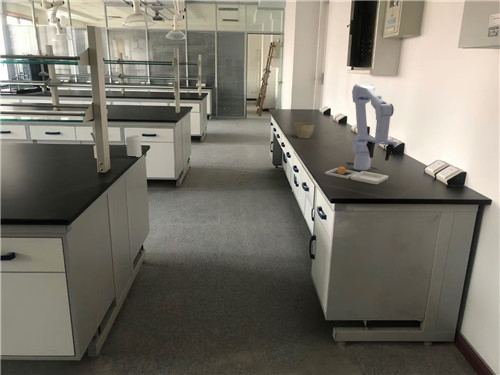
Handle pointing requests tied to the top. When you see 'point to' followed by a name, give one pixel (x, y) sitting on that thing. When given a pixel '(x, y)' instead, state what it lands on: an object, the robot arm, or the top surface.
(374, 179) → the dish
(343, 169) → the ball
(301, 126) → the planter bowl
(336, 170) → the tray
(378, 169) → the black flat plate
